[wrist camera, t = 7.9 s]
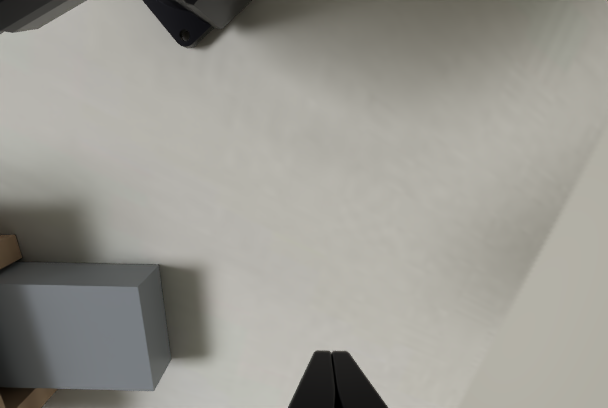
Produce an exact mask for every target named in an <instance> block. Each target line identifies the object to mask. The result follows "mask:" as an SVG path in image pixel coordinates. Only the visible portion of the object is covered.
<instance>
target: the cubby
mask: <svg viewBox="0 0 608 408" xmlns="http://www.w3.org/2000/svg"><path fill="white" fill-rule="evenodd" d="M21 258H22V255H21V252H20V249H19V245H18V242H17V239H16V235H0V269H2V268H4V267H5V266H7V265H9V264H11V263H13V262H15V261H17V260H19V259H21ZM56 390H57V389H52V388H12V387H0V408H41V407H42V406H43V405H44V404H45V403H46V402H47V401H48V399H49V398H50V397H51V396H52V395H53V394H54V393H55V392H56Z"/></svg>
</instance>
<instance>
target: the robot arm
mask: <svg viewBox="0 0 608 408" xmlns="http://www.w3.org/2000/svg"><path fill="white" fill-rule="evenodd" d="M85 1H86V0H0V34H1V33H3V32H4V31H5V32H12V33H14V32H20V31H27V30H33V29H38V28H40V27H42V26H43V25H45V24H47V23H49V22H50V21H52V20H54V19H55V18H57V17H59V16H61V15H62V14H64V13H66V12H67V11H69V10H71V9H73V8H74V7H76V6H78V5H79V4H81V3H83V2H85ZM143 1H144V3H145V4H146V5H147V6H148V8H149V9H150V10H151V11H152V12H153V14H154V15H155V16H156V17H157V18H158V20H159V21H160V22H161V23H162V25H163V26H164V27H165V28H166V29H167V31H168V32H169V33H170V34H171V35H172V37H173V38H174V39H175V40H176V42H177V43H178V44H180V45H181V46H183V47H186V48H192V47H194V46H195V45H196V44H197V43H198V42H199V41H200V40H201V39H203V38H204V37H205V36H206V35H207V34H208V33H209V32H210V31H211V30H212V29H213V28H218V29H222V28H223V27H224V26H226V25H227V24H228V23H229V22H230V21H231V20H232V19H233V18H234V17H235V16H236V15H237V14H238V13H239V12H240V11H241V10H242V9H243V8H244V7H246V6H247V5H248V4H249V3H250V2H251V1H252V0H143ZM186 31H189V33H190V38H189V40H187V41H184V40H183V33H184V32H186ZM288 408H388V407H387V405H386V404H385V403H384V401H383V400H382V398H381V397H380V396H379V394H378V393H377V391H376V390H375V389H374V387H373V386H372V384H371V383H370V382H369V380H368V379H367V377H366V376H365V375H364V373H363V372H362V370H361V369H360V368H359V366H358V365H357V363H356V362H355V361H354V359H353V358H352V356H351V355H350V354H349V353H348V352H347V351H333V352H332V353H331V352H330V351H319V350H317V351H315V352H314V354H313V356H312V358H311V360H310V362H309V364H308V366H307V368H306V370H305V373H304V375H303V377H302V379H301V381H300V383H299V385H298V387H297V390H296V392H295V394H294V396H293V398H292V400H291V402H290V404H289V406H288Z"/></svg>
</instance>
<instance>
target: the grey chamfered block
mask: <svg viewBox="0 0 608 408" xmlns="http://www.w3.org/2000/svg"><path fill="white" fill-rule="evenodd" d="M170 361H171V354H170V346H169V339H168V331H167V323H166V316H165V308H164V301H163V293H162V285H161V278H160V270H159V265H144V264H93V263H43V262H13V263H11V264H9V265H7V266H5V267H4V268H2V269H0V387H12V388H52V389H92V390H132V391H154V390H155V388H156V386H157V385H158V383H159V381H160V379H161V377H162V375H163V374H164V372H165V370H166V368H167V366H168V364H169V363H170Z"/></svg>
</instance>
